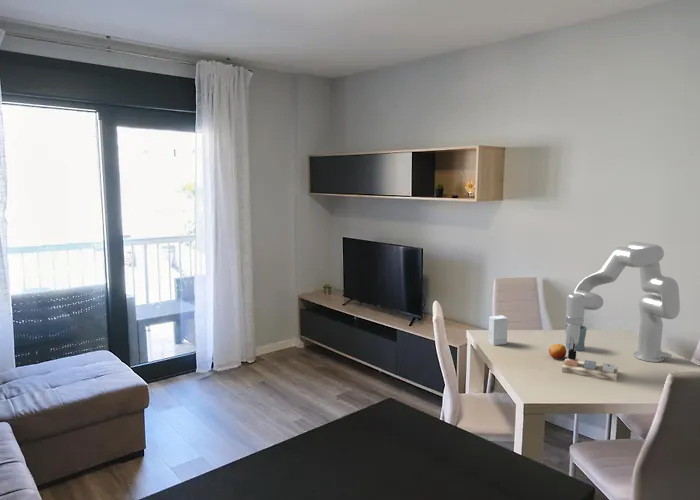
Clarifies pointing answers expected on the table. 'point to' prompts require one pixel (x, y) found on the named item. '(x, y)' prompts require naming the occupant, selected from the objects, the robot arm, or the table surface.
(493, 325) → the skincare box
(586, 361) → the key
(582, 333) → the grey-blue cup
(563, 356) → the fruit
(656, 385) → the table surface
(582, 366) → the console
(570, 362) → the key
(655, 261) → the robot arm
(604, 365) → the key
